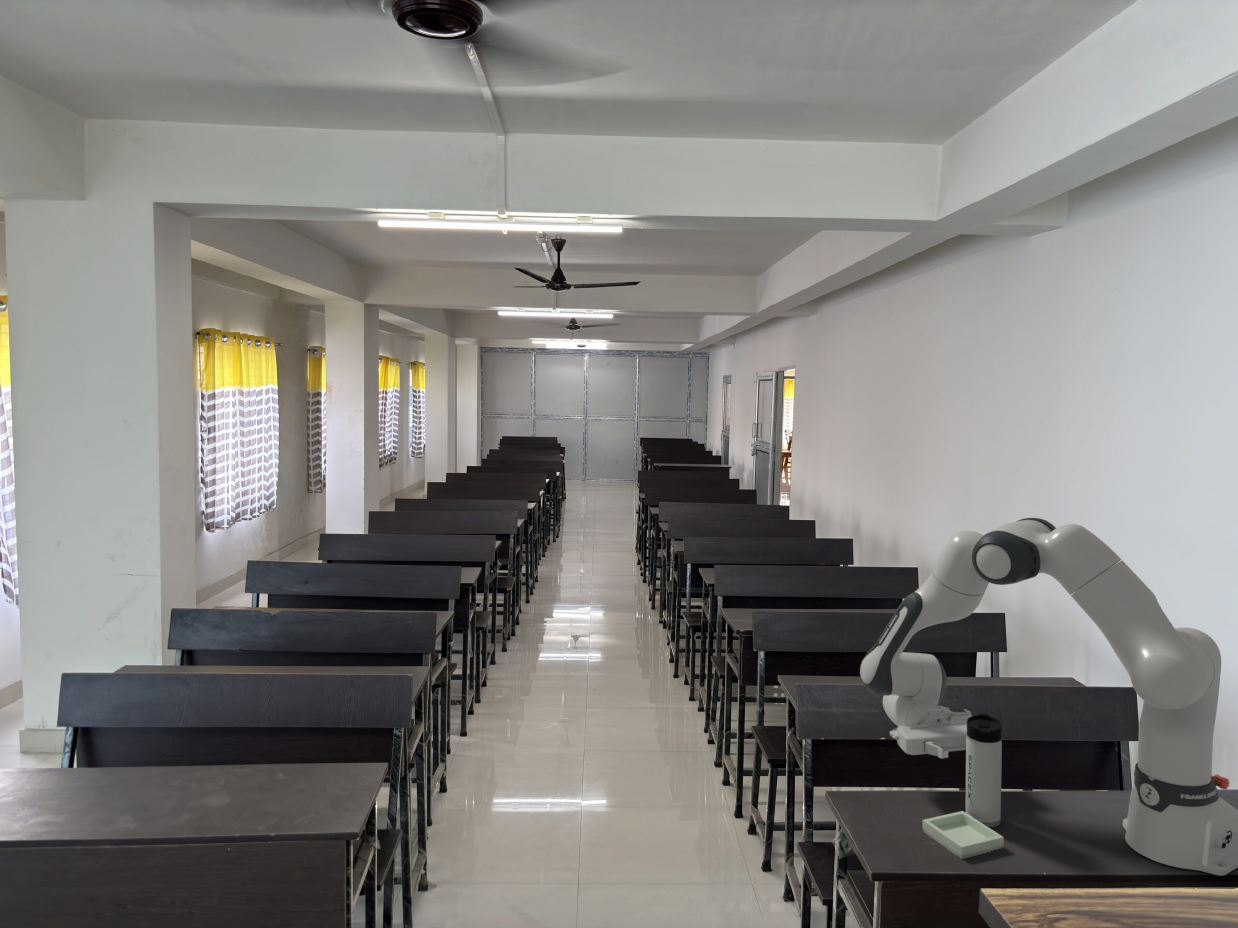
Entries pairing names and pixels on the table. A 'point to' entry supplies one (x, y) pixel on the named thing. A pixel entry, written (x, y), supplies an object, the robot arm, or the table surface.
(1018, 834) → the table surface
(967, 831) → the tray
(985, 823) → the travel mug
